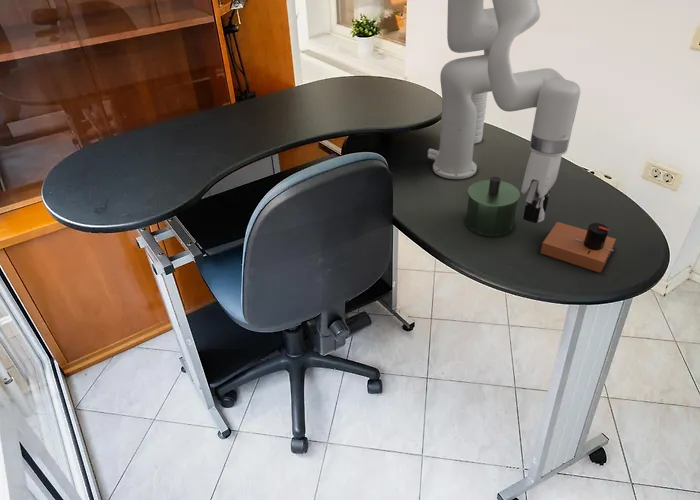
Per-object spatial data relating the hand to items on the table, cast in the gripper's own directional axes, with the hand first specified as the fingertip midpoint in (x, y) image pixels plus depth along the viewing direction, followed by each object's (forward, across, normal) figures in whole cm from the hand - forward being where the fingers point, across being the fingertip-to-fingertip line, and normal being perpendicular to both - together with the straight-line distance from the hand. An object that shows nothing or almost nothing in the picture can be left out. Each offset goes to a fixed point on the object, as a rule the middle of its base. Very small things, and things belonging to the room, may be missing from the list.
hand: (534, 214), depth 115 cm
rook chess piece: (+1, 0, 0) cm, 1 cm away
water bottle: (+6, -43, -34) cm, 55 cm away
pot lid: (-2, 0, -10) cm, 11 cm away
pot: (+6, 0, -10) cm, 12 cm away
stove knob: (+3, 0, +14) cm, 14 cm away
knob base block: (+6, 0, +11) cm, 12 cm away
